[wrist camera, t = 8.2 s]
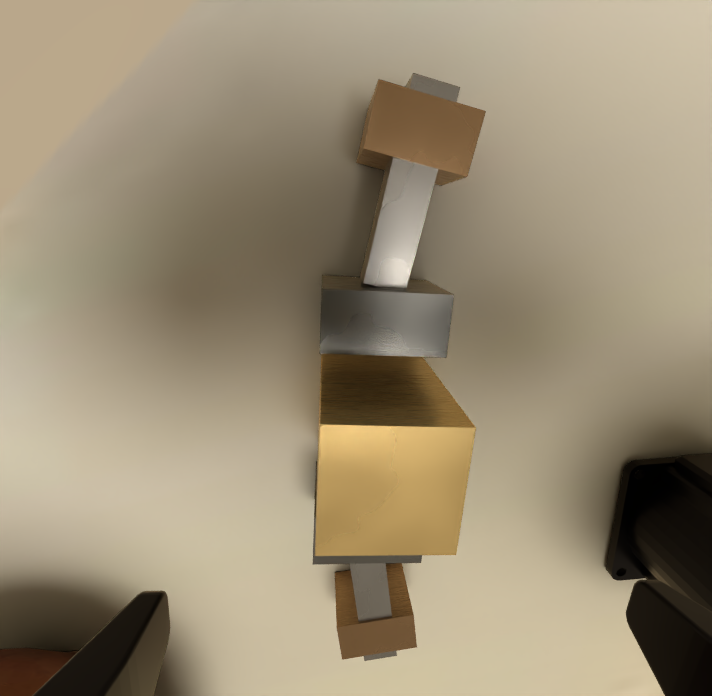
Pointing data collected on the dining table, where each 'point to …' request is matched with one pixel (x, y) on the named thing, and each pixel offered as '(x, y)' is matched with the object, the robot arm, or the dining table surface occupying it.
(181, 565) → the dining table surface
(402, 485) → the coupler
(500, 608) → the dining table surface
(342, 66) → the dining table surface
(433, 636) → the dining table surface
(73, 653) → the butternut squash
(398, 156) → the shaft rig
